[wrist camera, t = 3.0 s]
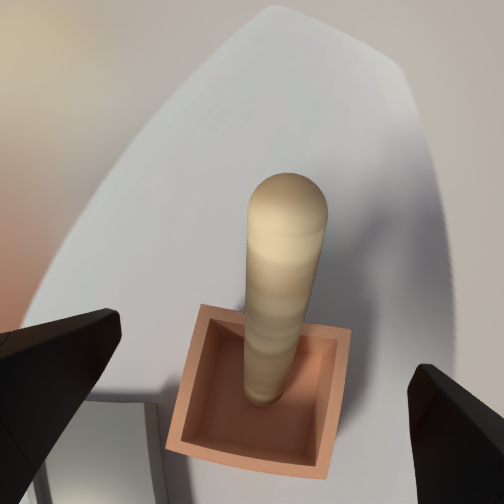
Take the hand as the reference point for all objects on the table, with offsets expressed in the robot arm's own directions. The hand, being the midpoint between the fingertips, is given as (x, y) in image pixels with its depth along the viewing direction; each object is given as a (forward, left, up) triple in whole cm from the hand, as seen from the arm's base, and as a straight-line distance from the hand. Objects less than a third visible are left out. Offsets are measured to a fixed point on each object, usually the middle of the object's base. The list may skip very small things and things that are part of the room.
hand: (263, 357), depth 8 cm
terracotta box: (-1, 0, -10) cm, 10 cm away
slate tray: (-10, +12, -10) cm, 19 cm away
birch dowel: (+2, 0, -10) cm, 10 cm away
